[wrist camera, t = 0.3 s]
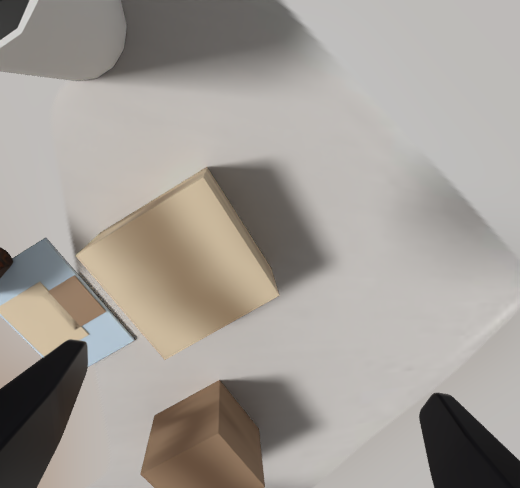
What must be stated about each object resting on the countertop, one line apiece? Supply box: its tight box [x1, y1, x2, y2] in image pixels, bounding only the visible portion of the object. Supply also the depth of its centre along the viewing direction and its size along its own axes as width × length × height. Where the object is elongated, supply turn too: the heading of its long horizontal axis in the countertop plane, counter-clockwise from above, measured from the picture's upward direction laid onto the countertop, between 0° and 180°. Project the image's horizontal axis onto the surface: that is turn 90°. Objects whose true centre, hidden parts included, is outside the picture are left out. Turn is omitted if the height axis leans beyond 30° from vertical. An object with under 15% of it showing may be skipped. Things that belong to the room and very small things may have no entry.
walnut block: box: [141, 380, 265, 488], centre depth 26 cm, size 6×6×5 cm
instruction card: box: [0, 238, 134, 367], centre depth 24 cm, size 6×9×1 cm, turn 30°
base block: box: [75, 167, 279, 360], centre depth 22 cm, size 8×8×4 cm
